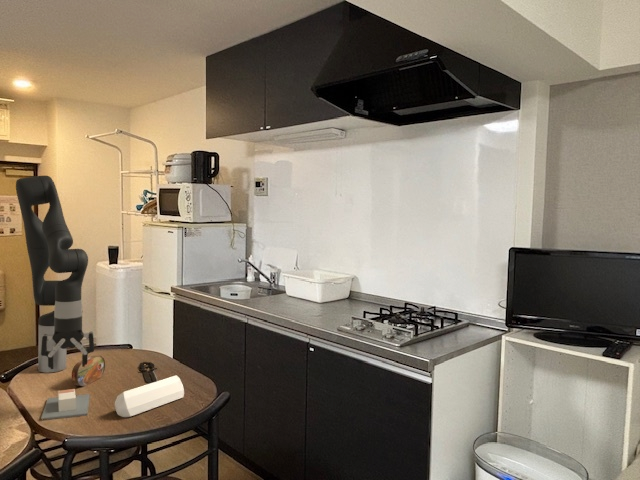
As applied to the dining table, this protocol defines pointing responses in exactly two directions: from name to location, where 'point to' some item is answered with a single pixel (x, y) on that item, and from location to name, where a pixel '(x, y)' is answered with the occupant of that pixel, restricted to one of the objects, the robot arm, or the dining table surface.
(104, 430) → the dining table surface
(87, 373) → the tin
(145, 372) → the knife
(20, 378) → the dining table surface
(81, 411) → the mat
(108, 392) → the dining table surface
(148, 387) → the crystal
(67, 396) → the card box
